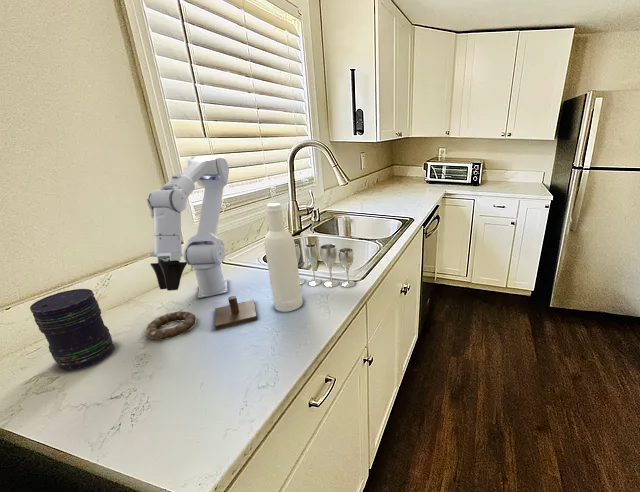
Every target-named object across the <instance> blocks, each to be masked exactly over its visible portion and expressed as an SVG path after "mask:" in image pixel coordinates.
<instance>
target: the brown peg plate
mask: <svg viewBox="0 0 640 492" xmlns="http://www.w3.org/2000/svg"><path fill="white" fill-rule="evenodd" d="M227 300H228V304H229V305H223V306H219V307H215V308H214V329H215V330H217V331H218V330H221V329H224V328H229V327H233V326H237V325H241V324H246V323H249V322H254V321H258V317H257V311H256V305H255V300H254V299H252V300H251V299H250V300H247V301H242V302H238V298H237V296H236V295H230V296H228V298H227Z"/></svg>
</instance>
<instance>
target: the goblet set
mask: <svg viewBox="0 0 640 492" xmlns="http://www.w3.org/2000/svg"><path fill="white" fill-rule="evenodd" d="M304 249H305V250H304V251H305V257H306V260H307V261H308V263H309V264H310V266H311V269H312V273H313V280H311V281H309V282H308V284H309V285H310V286H319V285H321V283H322V281H321V280H319V279H316V274H315V268H316V267H315V266H316V262H317V260H318V248H317V245H316V244H315V243H308V244H306V245H305V248H304ZM295 250H296V257H297V264H298V265H299V262H300V258H301V249H300V246H299V244H297V243H295ZM319 254H320V258H321V261H322V262H323V264H325V266H326V267H327V268H328V271H329V277H330V278H329V279H330V280H327V281H325V282H324V286H326V287H329V288H330V287H336V286H338V285H339V284H340V283H339V280H336V279H333V275H332V268H333V265H335V262H336V260H337V258H338V261H339V263H340V264H341V265H342V267H343V268H344V270H345V272H346V281H343V282H342V283H341V286H342V287H344V288H351V287H354V286H355V285H356V282H355V281H354V280H350V277H349V273H350V272H349V270H350V268H351V266H352V264H353V262H354V250H353V248H349V247H344V248H340V249H339V250H337V246H336V245H335V244H333V243H327V244H326V243H325V244H322V245H321V246H320V248H319ZM337 256H338V257H337ZM305 282H306V281H305V279H300V285H303V284H304V283H305Z"/></svg>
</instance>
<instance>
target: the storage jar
mask: <svg viewBox="0 0 640 492" xmlns="http://www.w3.org/2000/svg"><path fill="white" fill-rule="evenodd" d="M29 310H30V312H31V313H32V316H33V319H34V322H35V324H36V325H37V327H38V330H39V331H40V332H41V333H42V334H43V335H44V337H45V339H46V341H47V343H48V352H49V353H50V355H51V357H52V359H53V361H55V363H56V364H57V366H58V369H59V370H60V371H62V372H75V371H79V370H83V369H87V368H89V367H92V366H95V365H96V364H98V363H101V362H103V361H105V360H106V359H107V358H108V357H110V356H111V355H113V353H114V352H115V351H116V350H115V349H116V347H115V344H114V343H113V337H112V335H111V332H110V329H109V328H108V326H107V325H105V323H104V320H103V317H102V309H101V308H100V305H99V302H98V300H97V299H96V297H95V294H94V291H93V290H92V289H89V288H77V289H76V288H75V289H70V290H64V291H61V292H57V293H54V294H51V295H47V296H45V297H43V298H40V299H38V300H36V301H34V302H33V303H32V304H31V305H30V307H29Z"/></svg>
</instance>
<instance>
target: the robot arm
mask: <svg viewBox="0 0 640 492" xmlns="http://www.w3.org/2000/svg"><path fill="white" fill-rule="evenodd" d="M229 174H230V167H229V163H228V161H227V159H226V158H225V157H224V156H223V155H218V156H194V155H193V156H191V157H190V158H189V159H187V167H186V168H185V170H184V171H183V172H182V174H179V173H178V174H175V173H174V174H172V175H171V178H170V179H169V180H168V181H167V182H166V183H165V184H163V186H162V187H160V189H154V190H152V191H151V192H150V193H149V194H148V196H147V198H146V203H147V206H148V208H149V211H150V216H151V218H152V219H153V253H148V254H147V257H153V258H156V262H151V263H150V267H151V268H152V270H153V271H154V273H155V275H156V281H157V284H158V287H159V290H167V291H168V292H169V291H178V290H179V288H180V284H181V278H182V275H183V272H184V270H185V268H186V266H187V265H188V266H190V268H191V269H193V270H194V274H195V277H196V281H197V285H198V289H199V290H198V294H197V298H198V299H202V298H208V297H213V296H218V295H223V294H227V293H228V280H227V279H225V278H224V273H223V269H222V263H223V262H224V260H225V258H226V252H225V242H224V240H222V239H221V238H220V237H218V236H217V234H218V228H219V227H218V226H219V220H220V215H221V214H220V213H221V206H222V200H223V194H224V188H225V186H227V185H228V180H229ZM195 183H197V185H198V186H199V187H201V188H203V189H204V192H203V198H202V202H201V203H202V204H201V209H200V216H199V220H198V221H199V222H198V226H197V233H196V234H194V235H193V236H191V237H190V238H189V239H188V240H187V242H186V243H187V244H186V246H185V247H184V249H183V251H182V212H183V211H184V210H186V208H187V202H188V198H189V197H190V195H191V194H192V193H193V192H194V191H195V188H196V185H195ZM181 258H183V260H184V261H181Z"/></svg>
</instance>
